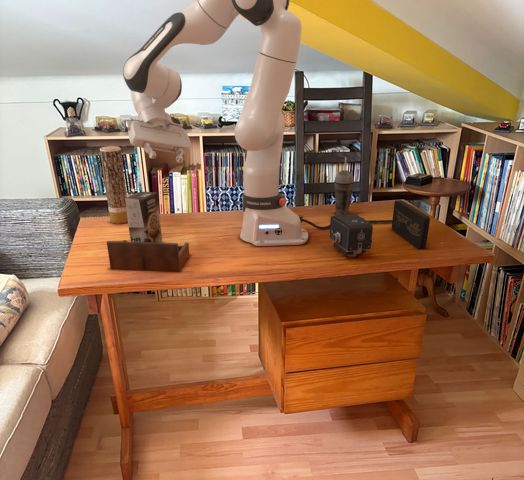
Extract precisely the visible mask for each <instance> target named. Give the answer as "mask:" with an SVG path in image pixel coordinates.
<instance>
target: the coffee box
mask: <svg viewBox="0 0 524 480" xmlns="http://www.w3.org/2000/svg"><path fill="white" fill-rule="evenodd" d="M125 200H126V209H127V217H128V222H127V224H128V232H129V240H130V241H129V242H154V241H156V242H158V243H164V241H163V232H162V221H161V212H160V203H159V193H158V192H155V191H138V192H136V193H134V194H130V195H129V196H127V198H125Z"/></svg>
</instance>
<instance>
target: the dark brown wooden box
mask: <svg viewBox="0 0 524 480" xmlns="http://www.w3.org/2000/svg"><path fill="white" fill-rule="evenodd" d="M106 247H107V254H108V260H109V266H110V270H120V271H121V270H125V271H128V270H129V271H150V272H151V271H152V272H154V271H155V272H175V273H176V272H180V271H181V270H182V269H183V266H184V265H185V263H186V262H187V260H188V258H189V257H190V243H189V242H187V241H186V242H184V244H183V245H181V244H179V243H178V242H163V243H158V242H156V241H154V242H131V241H128V240H123V241H121V240H108V241H106Z"/></svg>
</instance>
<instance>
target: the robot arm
mask: <svg viewBox="0 0 524 480" xmlns="http://www.w3.org/2000/svg"><path fill="white" fill-rule="evenodd" d="M289 6H290V0H194V1H193V2H192V3H190V5H189V6H187V7H186V8H185V9H183V10H181V11H179V12H175V13H172V14H171V15H170V16H169V17H168V18H166V20H165V21H164V22H163V23H162V24H161V25H160V26H159V27H158V29H157V30H156V31H154V33H153V34H152V35H151V36H150V37H149V38H148V39H147V41H146V42H145V43H144V44H143V45H142V46H141V47H140V48H139V49H138V50H137V51H136V52H134V53H133V54H131V56H129V57H128V58H127V60H126V61H125V62H124V65H123V68H122V77H123V79H124V83H125V84H126V86H127V88H128V89H129V90H130V97H131V101H132V104H133V108H134V111H135V113H136V114H137V119H134V118H129V119H126V120H125V126H126V128H127V132H128V133H127V134H128V139H129V142H130V143H129V144H131V146H133V147H134V148H135V147H136V148H142V150H143V151H144V152H145V153H146V154H147V155H148V157H149V159H150V160H151V159H152V160H156V158H157V152H156V151H159V152H160V151H161V152H165V153H174V154H176V155H177V156H176V157H175V161H176V163H178V164H182V163H183V162H184V157H183V156H184V155H185V156H186V155H188V153H189V152H190V151H191V149H192V146H193V145H192V142H191V139H190V137H189V134H188V132H187V131H186V129H184V128H183V127H184V122H183V121H182V120H181V119H178V118H176V117H174V116H173V115H171V114H169V113H168V112H166V109H168V108H170V106H172V105H173V104H174V103H176V102H177V100H178V99H179V98H180V96H181V95H182V92H183V91H182V89H183V88H182V87H183V81H182V77H181V75H180V73H179V72H177V71H176V70H173V69H172V68H170V67H168V66H166V65H163V64H160V62H159V61H160V60H161V59H162V58H163V57H164V56H165V55H166V54H167V53H168V52H169V51H170V49H171V48H173V47H175V46H178V45H182V44H184V45H185V44H193V45H200V46H207V45H212V44H215V43H216V42H218V41H219V40H220V39H221V38H222V37H223V36H224V34H225V33H226V32H227V31H228V29H229V27H230V26H231V25H232V24H233V22H234V21H235V20H236V18H237V17H238V16H242V17H243V18H244V19H245V20H247V21H248V22H249V23H251V24H252V25H254V26H255V27H259V28H260V42H259V47H258V51H257V55H256V60H255V64H254V70H253V74H252V79H251V83H250V86H249V89H248V90H247V94H246V97H245V100H244V102H243V106H242V108H241V111H240V112H241V113H240V115H239V118H238V120H237V121H236V124H235V126H234V139H235V141H236V143H237V145H238V146H239V147H241V149H243V150H246V157H245V162H244V164H243V193H242V196H241V197H242V198H241V199H242V200H241V202H242V211H243V217H242V224H241V230H240V233H239V238H240V239H241V240H242V241H244V242H247V243H250V244H252V245H254V246H256V247H275V246H277V247H279V246H301V245H305V243H308V241H309V232H308V231H307V230H306V229H304V228H303V225H302V224H303V223H306V224H308V225H310V226H312V227H314V228H315V229H318V230H328V229H330V224H328V225H326V226H319V225H317V224H315V223H313V222H312V221H311V220H307V219H305V218H304V217H303V216H304V215H302V214H297V213H295V212H294V211H293V210H291V209H290V208H289V207H288V206H286V202H287V199H286V196H285V193H283V194H282V193H281V192H280V164H281V158H282V151H283V144H284V135H285V134H284V133H285V130H286V129H285V128H286V118H285V115H284V114H283V113H282V110H283V108H284V105H285V102H286V101H287V97H288V95H289V93H290V90H291V85H292V82H293V78H294V74H295V69H296V65H297V62H298V57H299V51H300V46H301V39H302V22H301V19H300V18H299V17H298V16H297V15H296V14H295V13H293V12H292V11H289V10H288V9H289ZM158 62H159V63H158ZM365 220H366V219H365ZM366 221H368V222H370V223H371V224H383V223H384V224H388V223H392V219H377V220H375V219H374V220H373V219H370V220H369V219H368V220H366Z"/></svg>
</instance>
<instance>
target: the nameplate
mask: <svg viewBox="0 0 524 480" xmlns="http://www.w3.org/2000/svg"><path fill="white" fill-rule="evenodd" d="M391 220H392V222H391V230H392V231H393V232H395V233H396V234H397V235H399V236H400V237H402V238H403V239H404V240H405V241H407V242H409V243H410V244H411V245H413V246H414V247H416V248H417V250H419V249H426V247H427V242H428V235H429V229H430V223H431V218H430V216H429V215H427V214H426V213H424V212H422V211H421V210H419V209H417V208H415V207H414V206H412V205H411V204H409V203H407V202H405V201H404V200H402V199H398V200H395V201H394V204H393V211H392V219H391Z"/></svg>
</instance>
